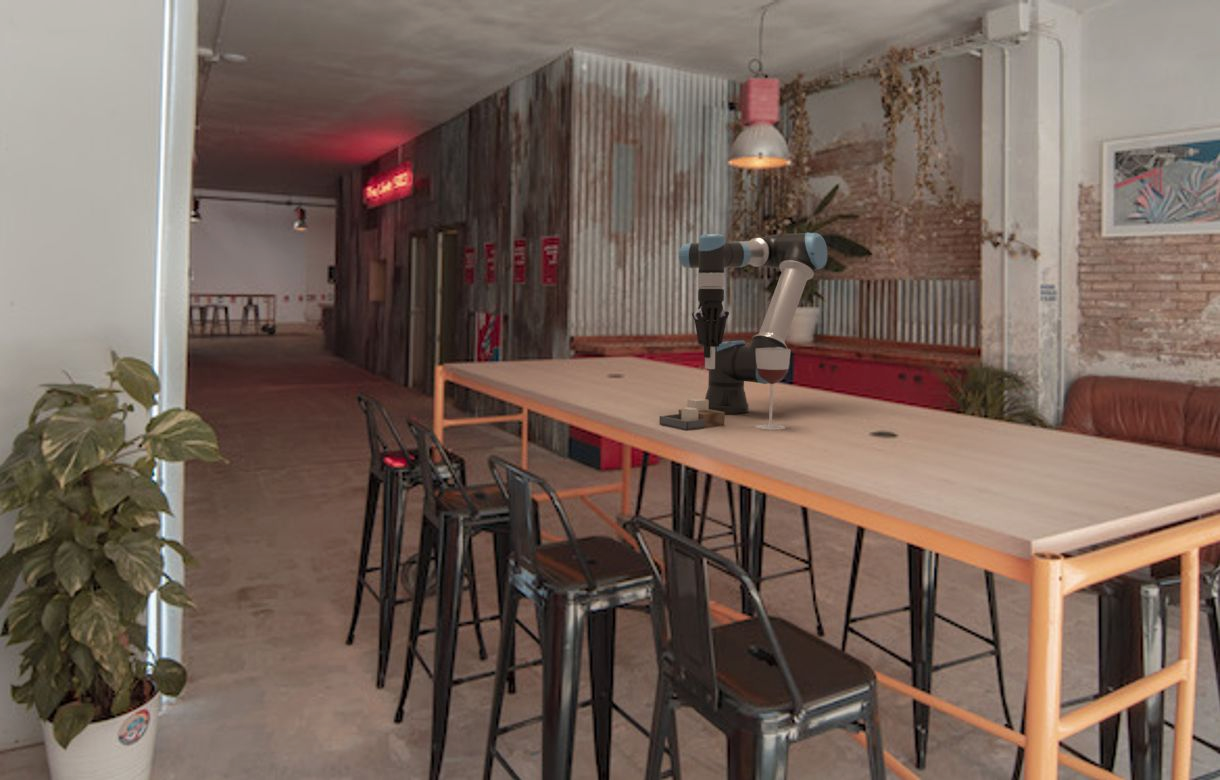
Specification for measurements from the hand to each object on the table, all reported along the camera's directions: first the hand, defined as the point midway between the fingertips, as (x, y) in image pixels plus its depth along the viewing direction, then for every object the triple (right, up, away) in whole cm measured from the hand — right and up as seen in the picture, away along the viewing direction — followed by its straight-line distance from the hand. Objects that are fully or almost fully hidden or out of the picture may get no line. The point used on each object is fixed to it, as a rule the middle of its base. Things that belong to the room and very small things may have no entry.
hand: (709, 368), depth 249 cm
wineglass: (+18, -17, 0) cm, 25 cm away
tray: (-8, -17, -1) cm, 19 cm away
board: (-2, -17, +4) cm, 17 cm away
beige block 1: (-3, -12, +6) cm, 14 cm away
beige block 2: (-5, -14, -2) cm, 15 cm away
